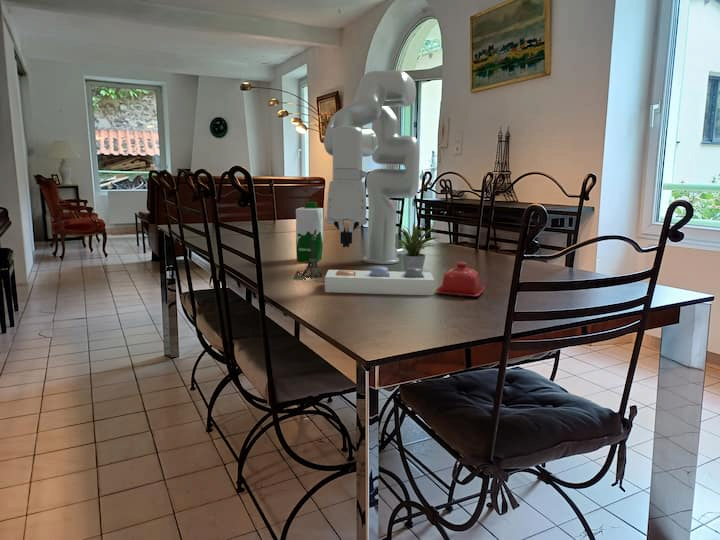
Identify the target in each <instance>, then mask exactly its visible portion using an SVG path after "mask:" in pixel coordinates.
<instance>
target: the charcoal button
mask: <svg viewBox="0 0 720 540" xmlns="http://www.w3.org/2000/svg"><path fill="white" fill-rule="evenodd" d="M422 272H423V270H422V269H421V268H415V267H409V268H405V277H410V278H422Z"/></svg>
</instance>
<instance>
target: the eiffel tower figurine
mask: <svg viewBox="0 0 720 540" xmlns="http://www.w3.org/2000/svg"><path fill="white" fill-rule="evenodd" d="M307 263H308V264H307V266H305V269H304V270H302V271H304V272H303V273H300V271H301V270H297V271H296V272H295V274H294V276H293V278H292V280H294V281H298V280H303V279H304V280H306V278H309V277H310V278H311V279H310V280H314V279H313V278H315V279H320V278H325V276H326V275H324V273H323V271H322V270H321V269H320V266H318V262H316V258H315V251H314V237H313V236H312V245H311V256H310V259H309V262H307ZM302 271H301V272H302ZM308 272H310V273H308ZM316 272H318V274H316ZM298 273H300V274H299V275H298ZM307 273H308V274H307ZM300 275H301V276H300ZM305 277H306V278H305ZM316 281H317V282H321V280H316Z"/></svg>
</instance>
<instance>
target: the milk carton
mask: <svg viewBox="0 0 720 540" xmlns="http://www.w3.org/2000/svg"><path fill="white" fill-rule="evenodd" d="M312 236H313V237H314V251H315V258H316V262H317V263H318V262H320V261H322V258H323V245H324V244H323V243H324V208H323V207H318V202H317V201H305V202H304V207H298V208H295V245H296V246H295V249H296V250H295V252H296V262H297V263H309V259H310V256H311V245H312Z"/></svg>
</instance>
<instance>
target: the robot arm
mask: <svg viewBox="0 0 720 540" xmlns="http://www.w3.org/2000/svg"><path fill="white" fill-rule="evenodd" d="M416 96H417V88H416V83H415V81H414V80H413V78H412V77H411V76H410V75H409V74H408V73H406V72H405V71H403V70H397V69H395V70H392V69H391V70H373V71H368V72H366V73H365V74H364V75H363V76H362V77H361V79H360V82H359V85H358V87H357V90H356V94H355V96H354V98H353V99H354V100H352V102H349V103H348V104H347V105H345V106H344V107H342V108H341V109H339V110H338V111H336V112H335V113H334V114H333V115H332V117H331V118H330V119H329V121H328V124H327V127H326V130H325V133H324V137H323V148H324V150H325V151H326V153H327V154H328V155H330V156H332V180H331V181H329V185H328V192H327V200H326V203H327V205H326V216H327V217H326V220H325V223H326V224H328V225H331V226H334V227H336V229H338V231H339V232H340V240H339V241H340V242H339V243H340V245H341V244H342V248H350V245H352V244H353V232H354V231H355V230H356V229H357V228H358V227H360V226H365V225H368V226H367V255H365V256H363V257H362V261H363V262H364V263H368V264H372V265H373V264H375V265H391V264H397V263H399V262H400V258H399V257H398V256H397V255H402V254H404V252H405V251H404V248H397V247H396V234H397V233H396V231H397V230H396V229H394V228H396V227H397V226H396V225H397V209H396V207H395V205H394V204H393V203H392V201H391V199H394V198H395V199H412V198H415V196H417V194H418V190H419V182H420V181H419V180H420V179H419V178H420V144H419V141H418V139H417V137H415V136H413V135H399V133H398V129H399V128H398V125H399V120H398V116H397V115H396V114H395V113H394V111H393V110H392V109H391V107H397V108H398V107H410V106H412V105H413V104H414V103H415V100H416V98H417V97H416ZM369 124H371V128H368V127H364V126H366V125H369ZM370 156H371V158H372V159H371V160H372V161H373V162H374V163H375V164H378V165H388V166H389V165H390V166H392V165H394V166H395V165H396V166H403V167H404V168H403V169H402V168H401V169H399V168H377V169H373V170H371V171H369V172H368V171H365V170H363V158H364V157H365V158H366V157H370ZM363 178H366V182H365V181H362V180H363ZM366 190H367V191H366ZM367 199H368V203H367ZM367 204H368V215H367ZM367 216H368V219H367ZM345 221H349V224H348V228H347V229H346V227H345Z"/></svg>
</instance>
